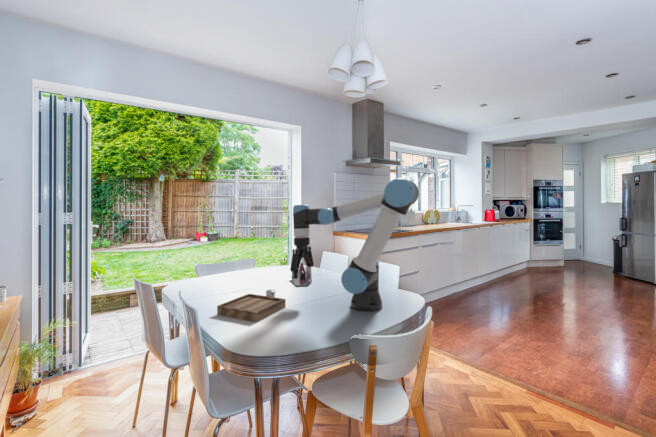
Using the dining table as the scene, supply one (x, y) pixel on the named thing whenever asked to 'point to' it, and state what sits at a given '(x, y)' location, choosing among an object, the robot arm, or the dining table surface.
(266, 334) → the dining table surface
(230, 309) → the wooden tray
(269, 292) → the steel bushing
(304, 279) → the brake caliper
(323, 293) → the dining table surface
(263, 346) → the dining table surface
